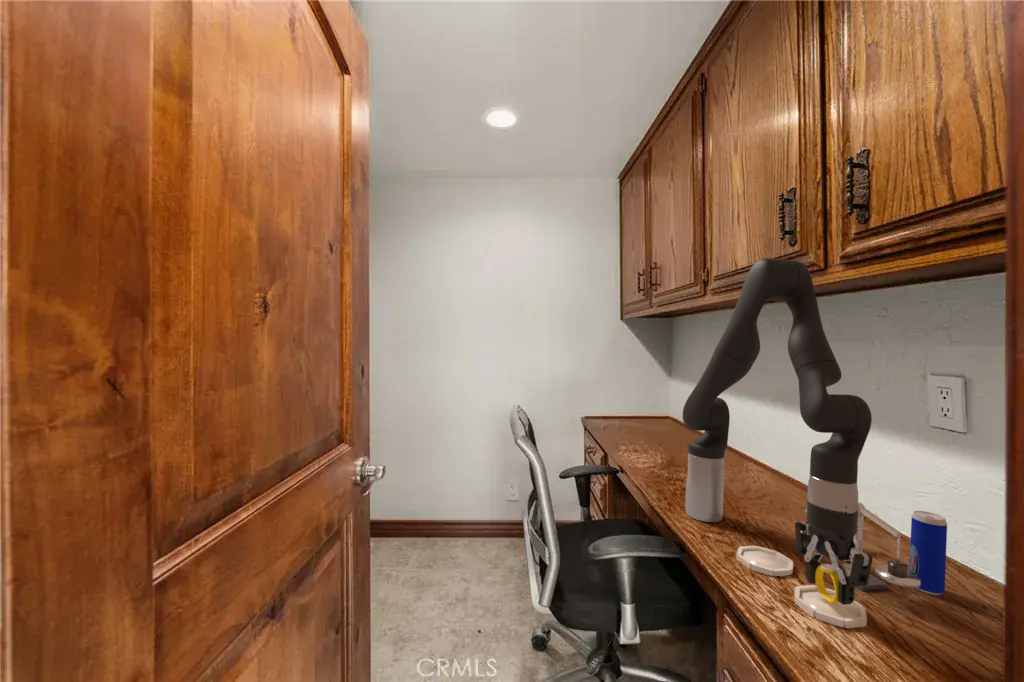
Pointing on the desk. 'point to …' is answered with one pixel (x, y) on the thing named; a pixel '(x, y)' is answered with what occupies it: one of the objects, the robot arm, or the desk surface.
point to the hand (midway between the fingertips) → (828, 591)
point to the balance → (895, 569)
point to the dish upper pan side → (764, 560)
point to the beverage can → (928, 551)
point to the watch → (820, 583)
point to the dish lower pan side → (829, 608)
